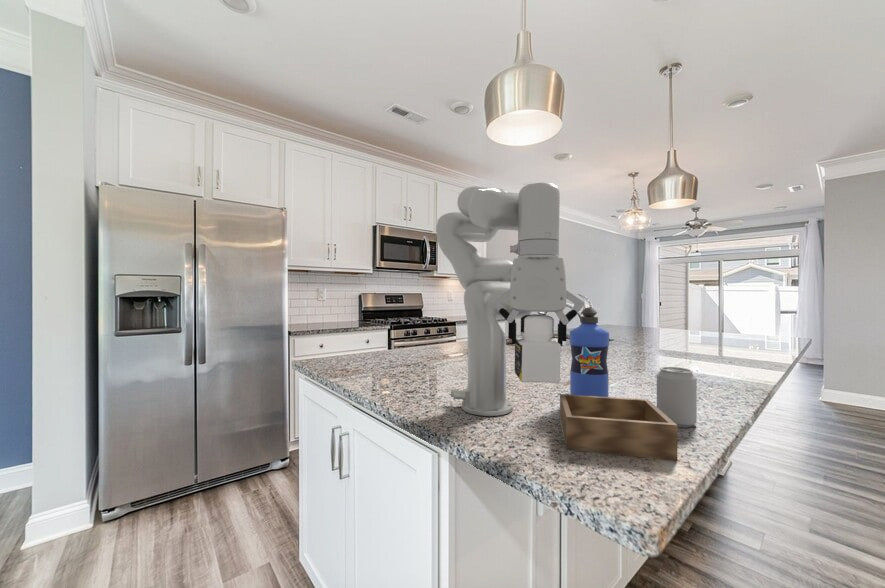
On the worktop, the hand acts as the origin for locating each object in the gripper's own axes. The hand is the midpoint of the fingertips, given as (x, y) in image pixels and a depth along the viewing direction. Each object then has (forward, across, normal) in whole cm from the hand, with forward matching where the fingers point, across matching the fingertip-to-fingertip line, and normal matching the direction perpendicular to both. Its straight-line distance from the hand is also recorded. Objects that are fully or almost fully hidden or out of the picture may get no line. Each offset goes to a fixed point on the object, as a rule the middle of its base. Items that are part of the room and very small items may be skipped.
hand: (536, 343), depth 70 cm
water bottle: (+20, +14, +27) cm, 36 cm away
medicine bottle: (+7, 0, 0) cm, 7 cm away
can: (+19, +30, +19) cm, 41 cm away
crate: (+19, +14, +6) cm, 25 cm away
